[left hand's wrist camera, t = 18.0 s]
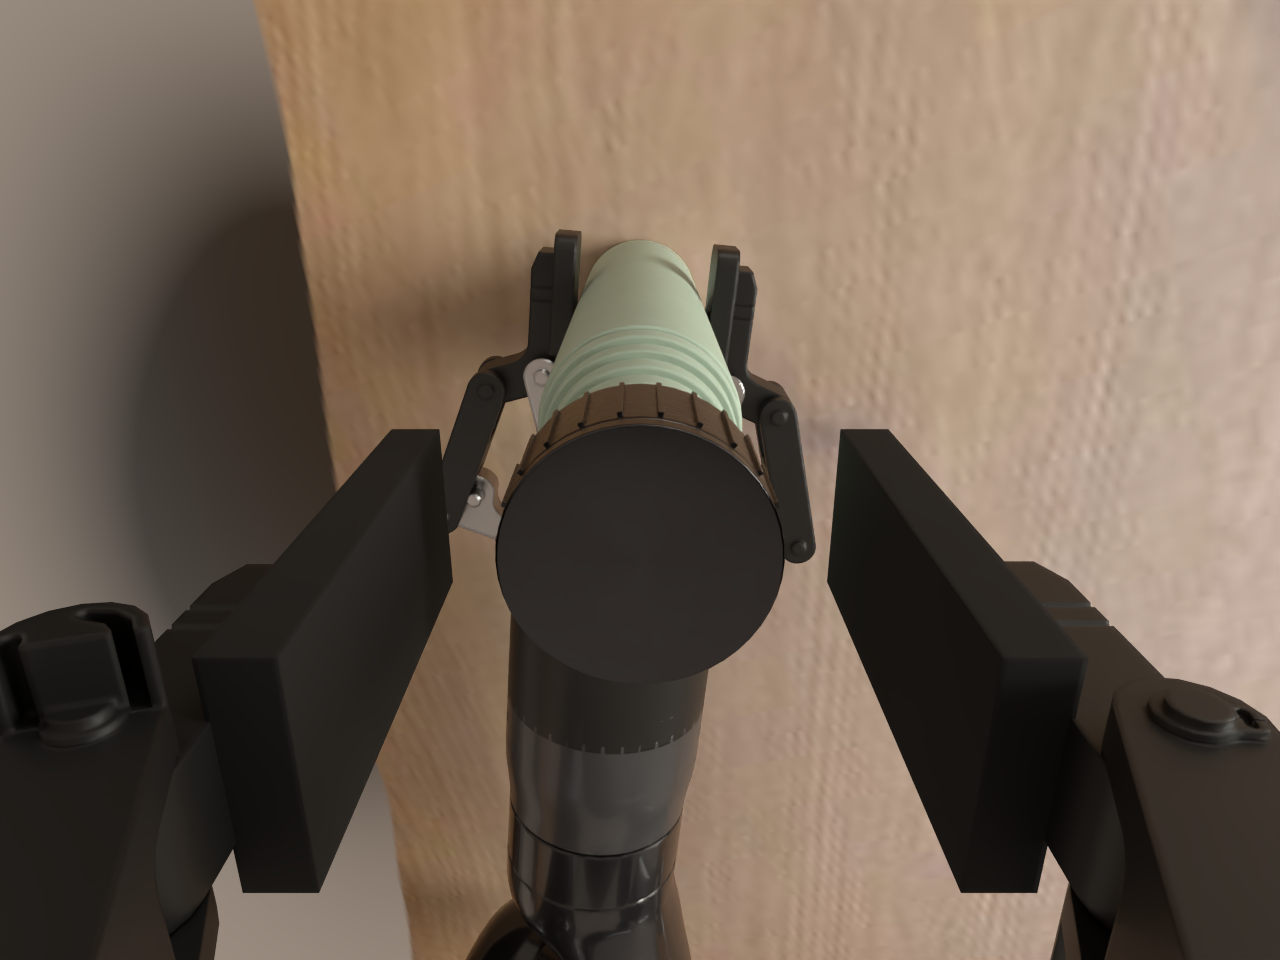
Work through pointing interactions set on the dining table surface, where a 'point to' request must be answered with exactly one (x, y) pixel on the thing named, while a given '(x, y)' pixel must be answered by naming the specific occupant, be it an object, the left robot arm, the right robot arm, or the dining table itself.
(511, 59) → the dining table surface
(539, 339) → the right robot arm
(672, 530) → the cap
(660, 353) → the bottle
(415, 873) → the dining table surface
